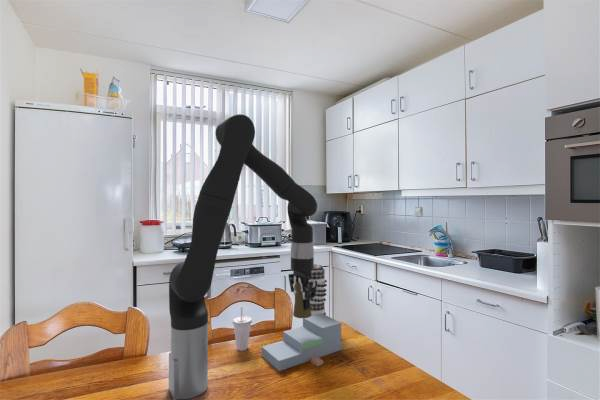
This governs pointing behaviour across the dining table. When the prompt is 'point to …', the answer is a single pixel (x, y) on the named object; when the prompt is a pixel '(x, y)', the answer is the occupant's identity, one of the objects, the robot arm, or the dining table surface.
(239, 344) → the smoothie
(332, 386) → the dining table surface
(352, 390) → the dining table surface
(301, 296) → the olive green pepper mill
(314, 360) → the pointer
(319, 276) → the decorative candle
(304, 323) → the step stand
